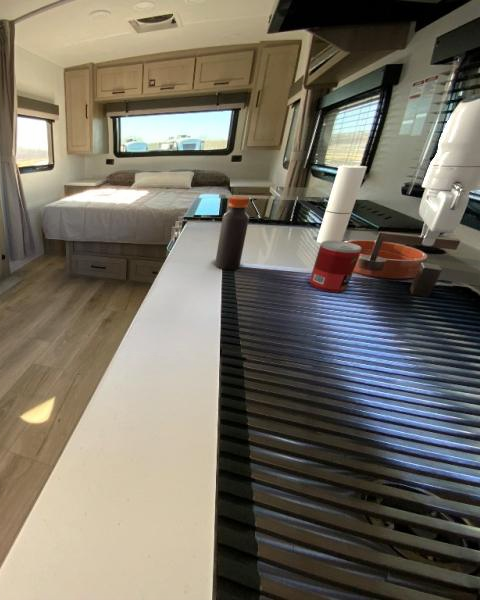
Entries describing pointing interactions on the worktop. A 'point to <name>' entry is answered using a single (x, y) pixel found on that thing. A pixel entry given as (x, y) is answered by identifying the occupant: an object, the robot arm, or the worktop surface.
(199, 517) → the worktop surface
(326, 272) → the canned food
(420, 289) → the dark brown upright post
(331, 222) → the cylindrical container
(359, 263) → the brown bent bar
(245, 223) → the bottle
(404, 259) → the bowl
